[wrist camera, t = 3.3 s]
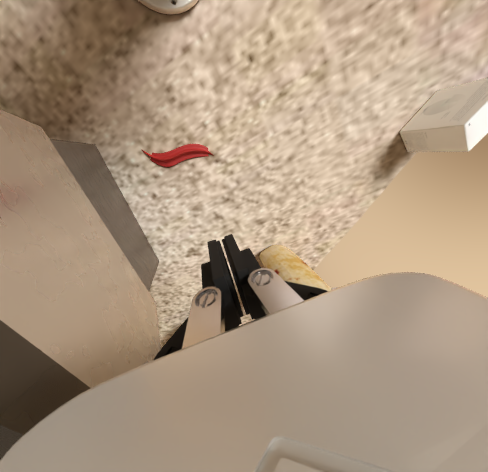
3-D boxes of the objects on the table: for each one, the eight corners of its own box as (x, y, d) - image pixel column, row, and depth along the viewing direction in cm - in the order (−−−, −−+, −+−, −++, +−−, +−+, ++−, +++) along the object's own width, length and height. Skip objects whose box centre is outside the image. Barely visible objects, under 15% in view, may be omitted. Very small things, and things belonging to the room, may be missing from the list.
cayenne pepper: (140, 162, 29) (136, 162, 27) (139, 130, 27) (135, 129, 26) (212, 175, 33) (213, 176, 31) (216, 148, 31) (217, 148, 29)
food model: (253, 263, 42) (294, 339, 25) (262, 238, 40) (314, 303, 23) (286, 268, 46) (344, 338, 28) (296, 245, 44) (366, 306, 26)
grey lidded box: (-42, 154, 23) (-241, 153, 13) (85, 127, 25) (6, 107, 15) (84, 295, 35) (36, 355, 25) (163, 269, 37) (151, 314, 27)
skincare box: (407, 153, 41) (469, 153, 31) (398, 132, 38) (463, 124, 29) (444, 114, 39) (522, 102, 30) (437, 89, 36) (521, 66, 27)
